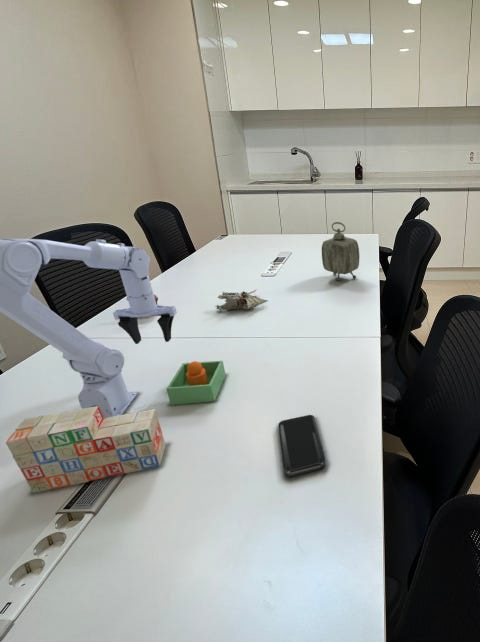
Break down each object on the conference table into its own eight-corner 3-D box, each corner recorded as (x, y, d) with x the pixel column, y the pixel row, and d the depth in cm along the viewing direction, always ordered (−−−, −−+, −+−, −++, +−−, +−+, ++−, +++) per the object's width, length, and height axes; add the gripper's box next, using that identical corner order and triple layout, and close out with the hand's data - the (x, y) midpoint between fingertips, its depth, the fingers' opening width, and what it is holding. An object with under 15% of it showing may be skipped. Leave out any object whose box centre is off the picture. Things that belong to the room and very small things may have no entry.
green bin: (214, 401, 93) (210, 385, 91) (170, 404, 92) (166, 389, 91) (225, 375, 103) (222, 360, 102) (186, 378, 103) (182, 363, 101)
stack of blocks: (166, 444, 80) (152, 396, 75) (160, 467, 75) (143, 416, 70) (47, 467, 75) (23, 417, 70) (31, 494, 70) (3, 441, 65)
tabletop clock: (360, 278, 170) (358, 221, 160) (348, 284, 163) (345, 226, 153) (334, 273, 178) (330, 218, 167) (321, 279, 171) (317, 222, 160)
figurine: (235, 283, 153) (274, 286, 150) (237, 297, 155) (276, 300, 152) (205, 300, 135) (249, 303, 132) (207, 316, 137) (251, 319, 134)
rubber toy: (205, 391, 96) (199, 366, 93) (187, 393, 96) (180, 368, 93) (210, 381, 100) (205, 357, 97) (193, 382, 100) (187, 358, 97)
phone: (284, 474, 71) (278, 421, 84) (285, 478, 72) (278, 425, 85) (326, 463, 73) (314, 413, 86) (327, 468, 74) (314, 417, 87)
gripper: (175, 286, 101) (186, 332, 106) (117, 289, 100) (131, 335, 105) (165, 296, 95) (177, 344, 100) (103, 300, 93) (119, 348, 99)
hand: (153, 341), depth 102 cm, fingers open, 7 cm apart
